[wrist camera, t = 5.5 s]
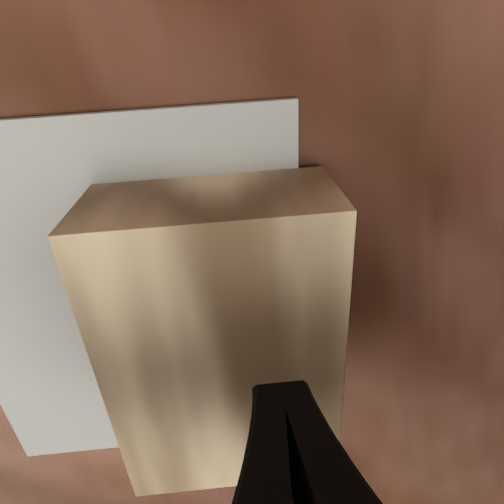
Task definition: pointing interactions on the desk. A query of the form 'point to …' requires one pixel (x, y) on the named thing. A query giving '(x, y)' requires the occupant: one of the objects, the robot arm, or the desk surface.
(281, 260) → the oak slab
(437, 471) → the desk surface
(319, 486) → the robot arm
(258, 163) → the light grey flat panel
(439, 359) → the desk surface
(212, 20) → the desk surface
